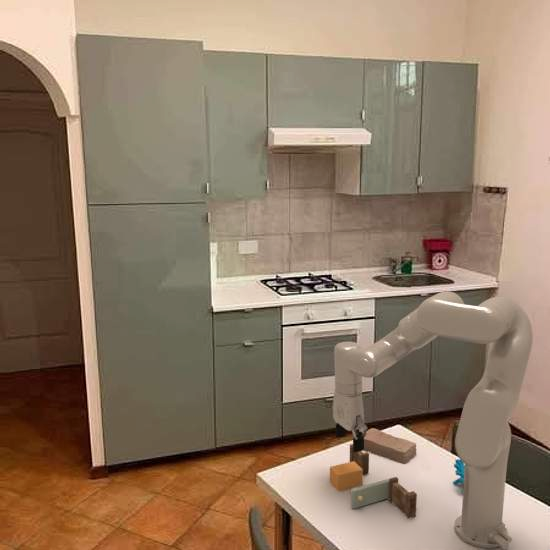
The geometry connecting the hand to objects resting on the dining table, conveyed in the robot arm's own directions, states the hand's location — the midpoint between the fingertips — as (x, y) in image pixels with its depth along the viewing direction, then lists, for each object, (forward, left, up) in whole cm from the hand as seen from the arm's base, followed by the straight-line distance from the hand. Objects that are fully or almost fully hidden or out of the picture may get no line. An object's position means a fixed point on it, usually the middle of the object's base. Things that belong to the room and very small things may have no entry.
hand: (349, 443), depth 165 cm
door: (-11, -1, -12) cm, 17 cm away
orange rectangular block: (+1, +1, -13) cm, 13 cm away
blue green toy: (-15, -30, -13) cm, 36 cm away
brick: (+12, -21, -13) cm, 28 cm away
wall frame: (-5, -7, -13) cm, 15 cm away
